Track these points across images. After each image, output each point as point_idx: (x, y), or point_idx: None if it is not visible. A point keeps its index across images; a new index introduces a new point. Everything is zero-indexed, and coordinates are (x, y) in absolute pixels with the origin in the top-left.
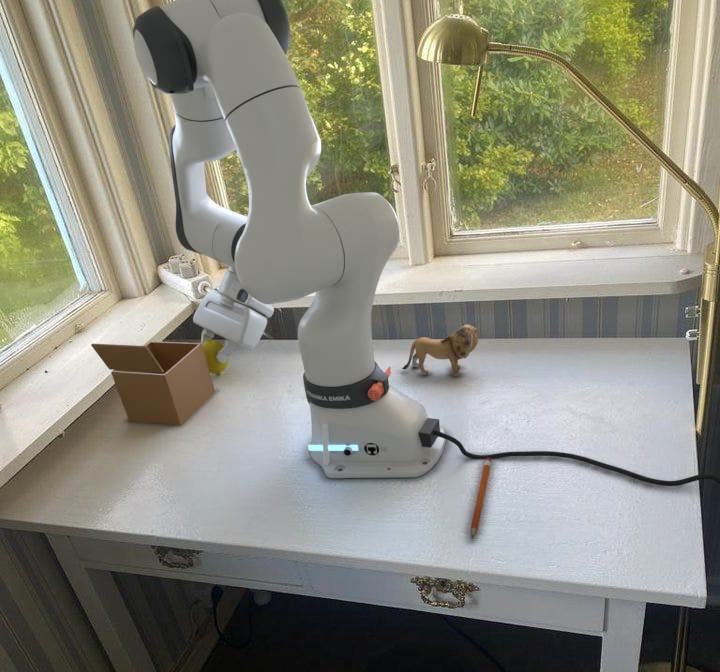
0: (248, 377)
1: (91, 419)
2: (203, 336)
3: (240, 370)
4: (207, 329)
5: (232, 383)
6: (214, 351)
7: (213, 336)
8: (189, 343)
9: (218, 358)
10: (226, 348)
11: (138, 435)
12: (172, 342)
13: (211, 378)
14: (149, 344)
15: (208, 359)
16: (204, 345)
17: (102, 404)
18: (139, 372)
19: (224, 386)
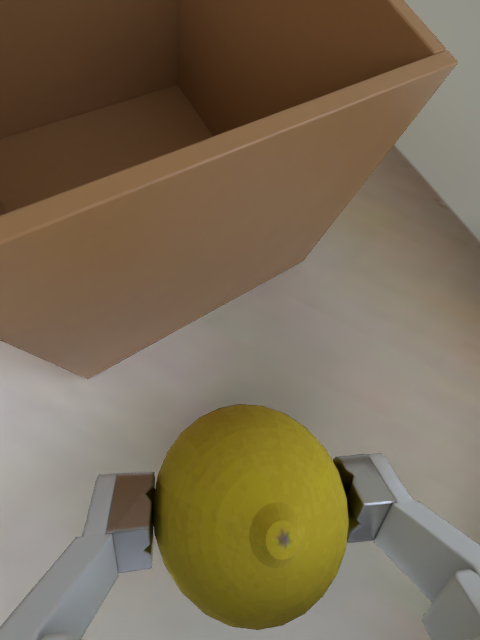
0: None
1: None
2: (448, 549)
3: (176, 596)
4: (472, 638)
5: (82, 483)
6: (171, 501)
7: (432, 637)
8: (60, 195)
9: (96, 483)
10: (21, 608)
11: None
12: (270, 122)
13: (66, 369)
14: (413, 44)
15: (187, 431)
16: (263, 462)
17: None
18: (263, 41)
19: (92, 436)
